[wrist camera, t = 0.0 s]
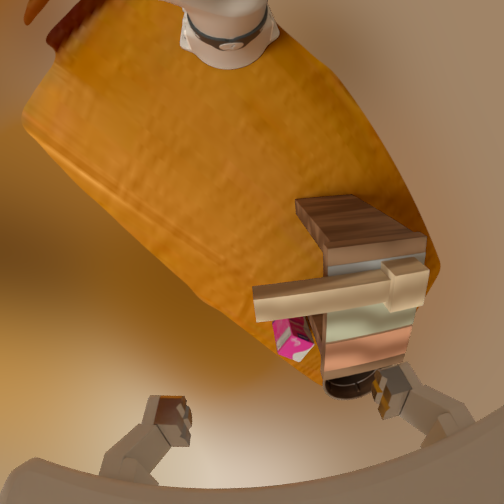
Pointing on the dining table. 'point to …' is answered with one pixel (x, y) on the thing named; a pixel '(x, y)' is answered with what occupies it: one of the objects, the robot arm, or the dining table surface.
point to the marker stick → (345, 291)
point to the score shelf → (352, 261)
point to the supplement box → (293, 337)
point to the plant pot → (350, 385)
